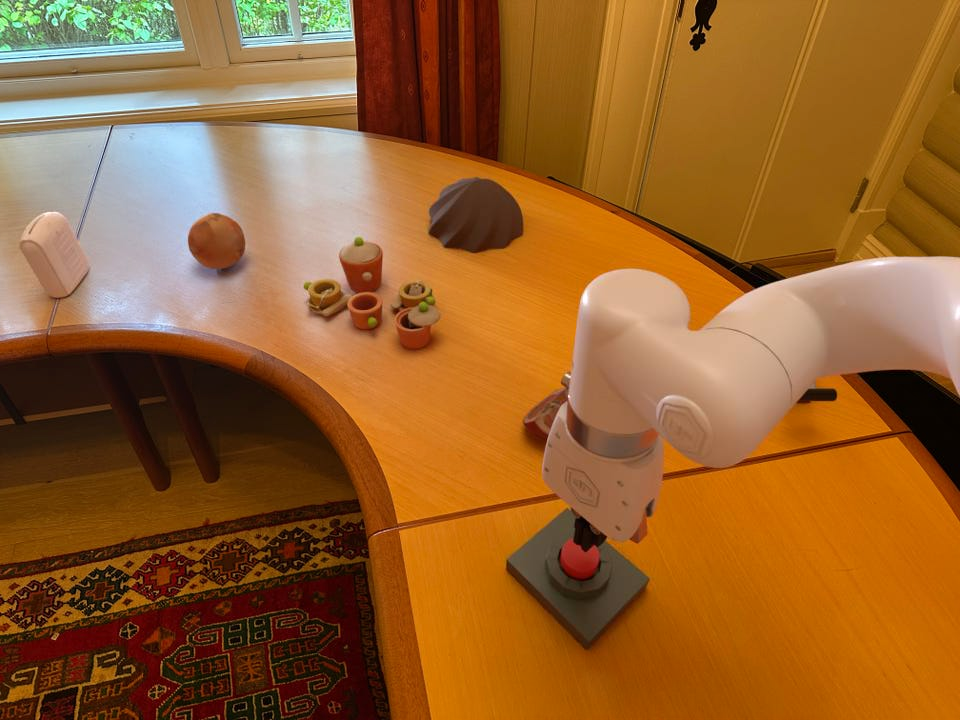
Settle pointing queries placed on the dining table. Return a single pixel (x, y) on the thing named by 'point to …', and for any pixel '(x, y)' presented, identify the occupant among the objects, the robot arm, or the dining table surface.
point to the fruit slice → (545, 413)
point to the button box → (576, 581)
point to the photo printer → (54, 254)
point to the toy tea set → (375, 295)
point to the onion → (216, 241)
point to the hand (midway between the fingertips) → (589, 538)
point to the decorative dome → (475, 216)
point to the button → (579, 560)
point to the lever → (819, 394)
